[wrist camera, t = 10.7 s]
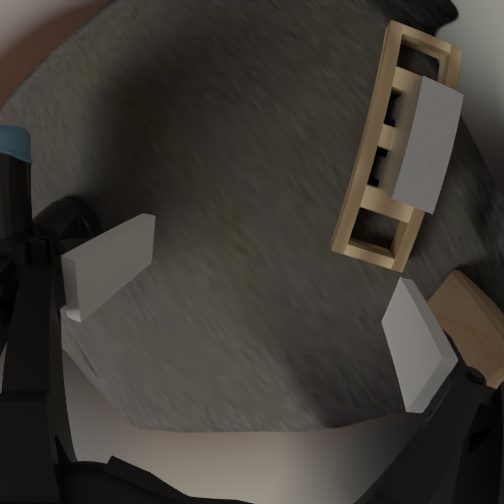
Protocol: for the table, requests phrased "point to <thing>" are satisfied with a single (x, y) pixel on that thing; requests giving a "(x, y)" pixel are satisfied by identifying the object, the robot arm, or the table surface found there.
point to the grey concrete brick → (419, 143)
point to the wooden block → (471, 324)
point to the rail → (380, 136)
